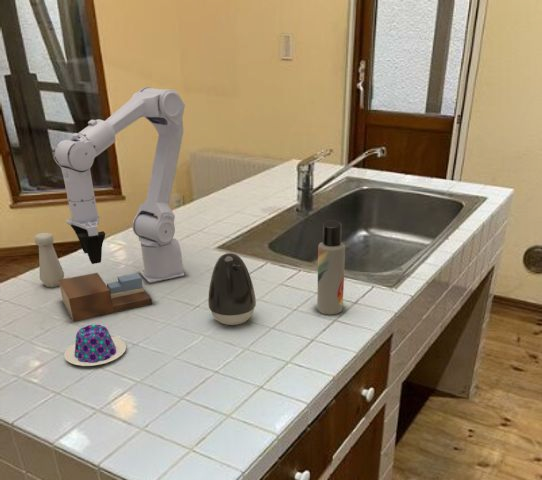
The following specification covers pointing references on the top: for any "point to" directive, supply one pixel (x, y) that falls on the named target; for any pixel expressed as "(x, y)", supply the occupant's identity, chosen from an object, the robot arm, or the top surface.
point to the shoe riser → (96, 297)
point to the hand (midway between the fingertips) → (92, 257)
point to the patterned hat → (94, 347)
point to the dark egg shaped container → (231, 291)
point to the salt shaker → (48, 261)
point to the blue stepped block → (126, 285)
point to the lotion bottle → (331, 269)
